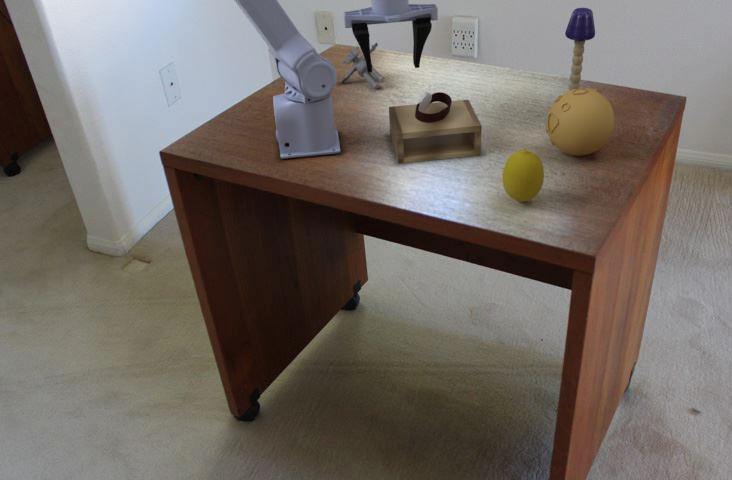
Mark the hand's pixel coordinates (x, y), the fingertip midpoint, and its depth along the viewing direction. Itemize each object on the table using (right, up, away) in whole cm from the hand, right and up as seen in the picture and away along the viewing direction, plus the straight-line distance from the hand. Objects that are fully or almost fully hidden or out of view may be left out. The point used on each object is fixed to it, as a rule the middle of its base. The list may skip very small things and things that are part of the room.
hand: (393, 67), depth 121 cm
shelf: (+7, -13, -2) cm, 15 cm away
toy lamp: (+31, -6, +6) cm, 32 cm away
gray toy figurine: (-5, +4, +21) cm, 21 cm away
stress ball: (+28, -15, -6) cm, 33 cm away
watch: (+6, -9, -5) cm, 12 cm away
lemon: (+18, -24, -17) cm, 34 cm away
